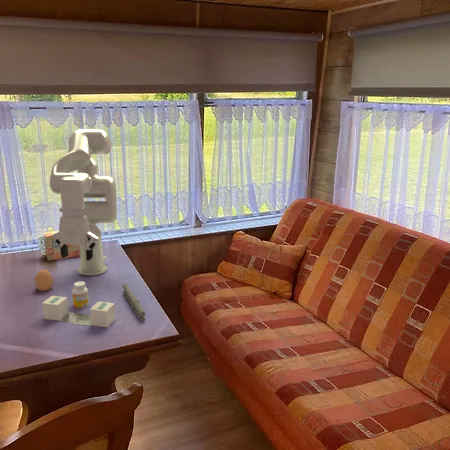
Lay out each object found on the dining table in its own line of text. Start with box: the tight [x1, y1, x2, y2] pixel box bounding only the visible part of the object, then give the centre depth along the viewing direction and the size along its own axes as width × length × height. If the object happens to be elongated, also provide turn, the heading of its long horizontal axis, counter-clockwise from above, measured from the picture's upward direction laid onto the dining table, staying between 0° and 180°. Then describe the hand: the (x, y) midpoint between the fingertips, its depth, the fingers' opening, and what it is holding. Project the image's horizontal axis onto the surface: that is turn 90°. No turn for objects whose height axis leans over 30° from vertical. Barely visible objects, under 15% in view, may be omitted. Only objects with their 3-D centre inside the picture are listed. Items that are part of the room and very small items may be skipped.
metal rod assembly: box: [122, 283, 146, 322], centre depth 172 cm, size 26×3×5 cm, turn 25°
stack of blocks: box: [43, 230, 80, 261], centre depth 221 cm, size 21×6×12 cm, turn 115°
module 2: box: [89, 301, 116, 328], centre depth 159 cm, size 6×6×6 cm
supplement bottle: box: [72, 280, 90, 309], centre depth 171 cm, size 5×5×10 cm
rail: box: [43, 311, 117, 329], centre depth 161 cm, size 7×24×1 cm, turn 77°
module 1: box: [41, 295, 70, 322], centre depth 162 cm, size 6×6×6 cm
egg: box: [34, 269, 54, 292], centre depth 183 cm, size 7×7×9 cm
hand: (77, 258), depth 166 cm, fingers open, 9 cm apart
